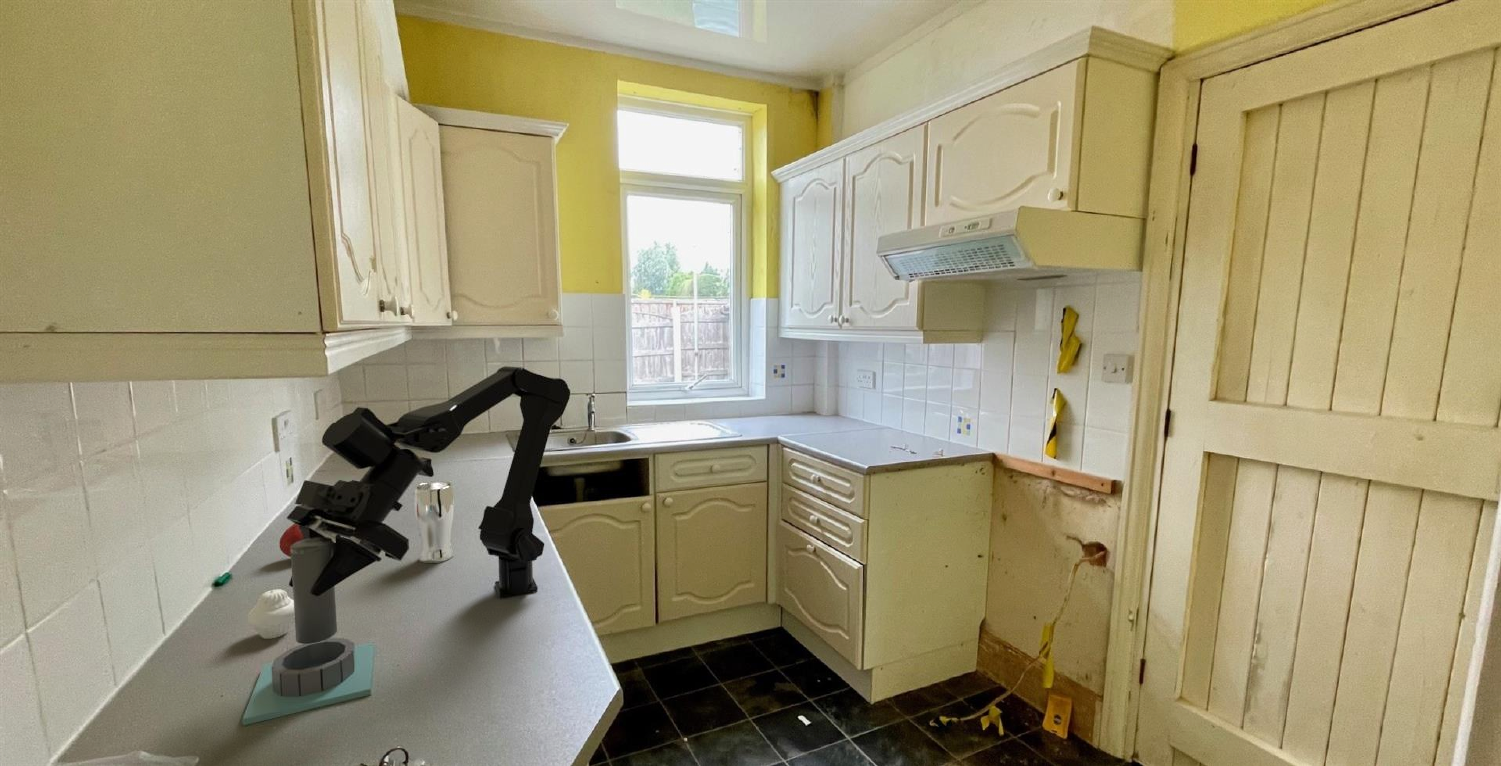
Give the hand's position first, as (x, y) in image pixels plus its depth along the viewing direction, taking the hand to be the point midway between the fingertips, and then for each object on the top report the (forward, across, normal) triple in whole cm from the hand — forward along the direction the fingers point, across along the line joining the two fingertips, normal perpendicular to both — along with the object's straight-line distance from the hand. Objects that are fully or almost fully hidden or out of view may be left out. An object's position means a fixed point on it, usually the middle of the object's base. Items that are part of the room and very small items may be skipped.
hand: (302, 590), depth 79 cm
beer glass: (-17, -25, +36) cm, 47 cm away
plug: (+4, 0, +6) cm, 7 cm away
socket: (+9, -1, +10) cm, 14 cm away
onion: (-7, -48, +26) cm, 55 cm away
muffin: (+6, -20, +14) cm, 25 cm away
